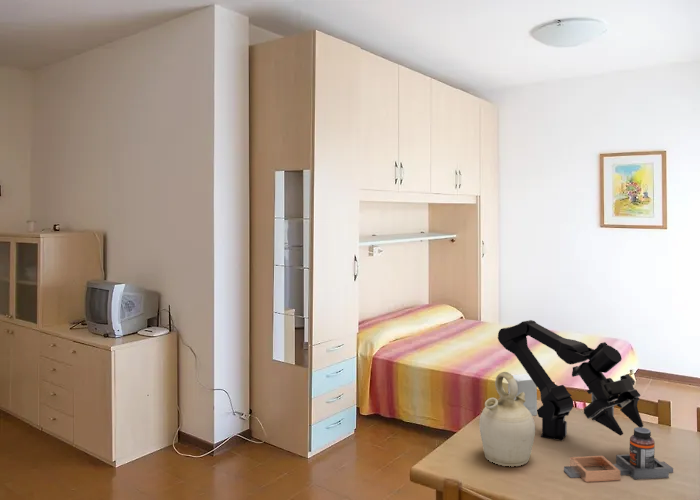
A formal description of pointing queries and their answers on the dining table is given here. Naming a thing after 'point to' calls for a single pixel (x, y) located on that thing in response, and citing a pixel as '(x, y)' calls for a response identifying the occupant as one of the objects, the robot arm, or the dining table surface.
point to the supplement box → (527, 391)
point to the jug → (507, 426)
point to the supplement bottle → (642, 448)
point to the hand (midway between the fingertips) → (632, 430)
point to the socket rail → (614, 469)
